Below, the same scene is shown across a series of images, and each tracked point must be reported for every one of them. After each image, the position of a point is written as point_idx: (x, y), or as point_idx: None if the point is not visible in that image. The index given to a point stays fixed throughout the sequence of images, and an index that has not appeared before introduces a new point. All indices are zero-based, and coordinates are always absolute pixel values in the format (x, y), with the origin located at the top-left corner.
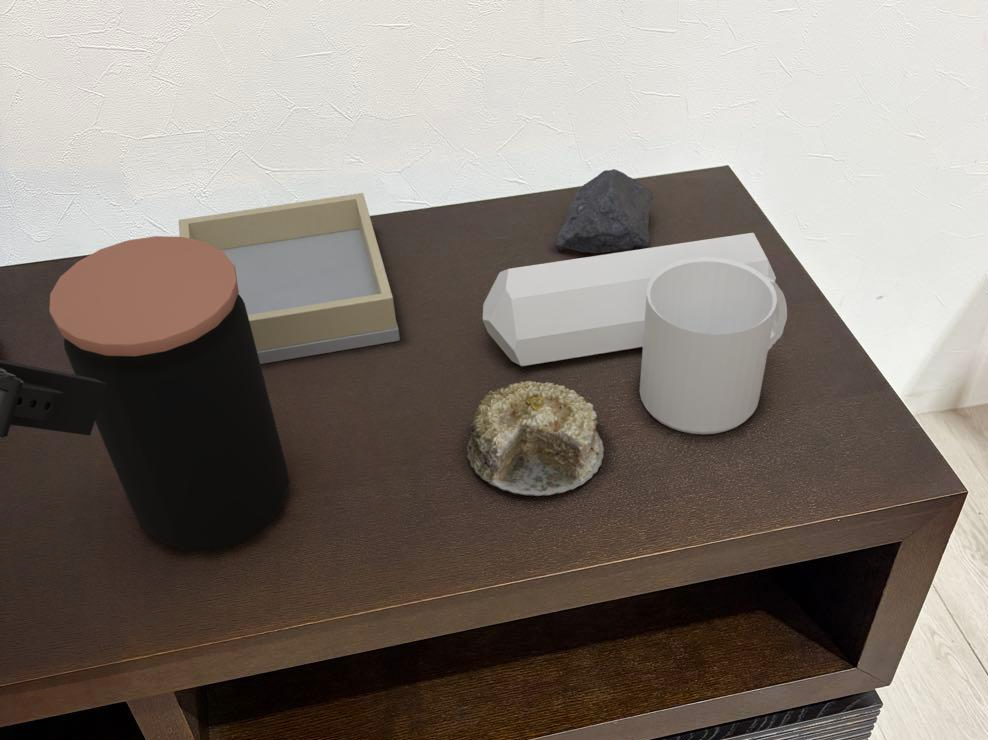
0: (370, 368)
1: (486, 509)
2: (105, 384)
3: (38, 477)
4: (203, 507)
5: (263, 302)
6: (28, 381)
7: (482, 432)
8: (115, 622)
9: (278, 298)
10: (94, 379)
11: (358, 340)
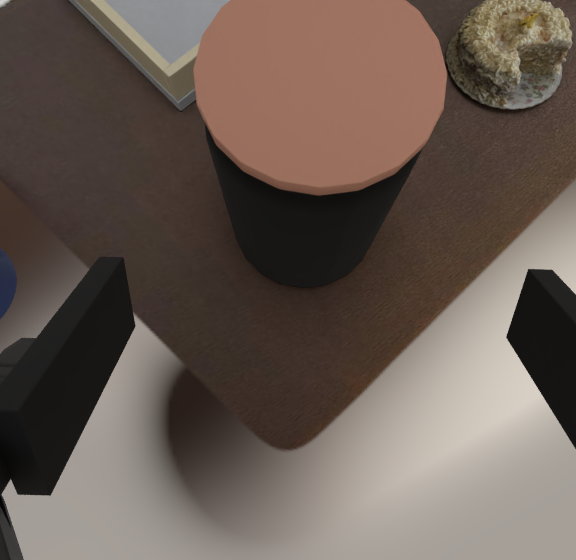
0: None
1: (507, 131)
2: (551, 271)
3: (135, 276)
4: (361, 253)
5: (181, 14)
6: None
7: (494, 67)
8: (322, 371)
9: (190, 4)
10: (540, 274)
11: None
